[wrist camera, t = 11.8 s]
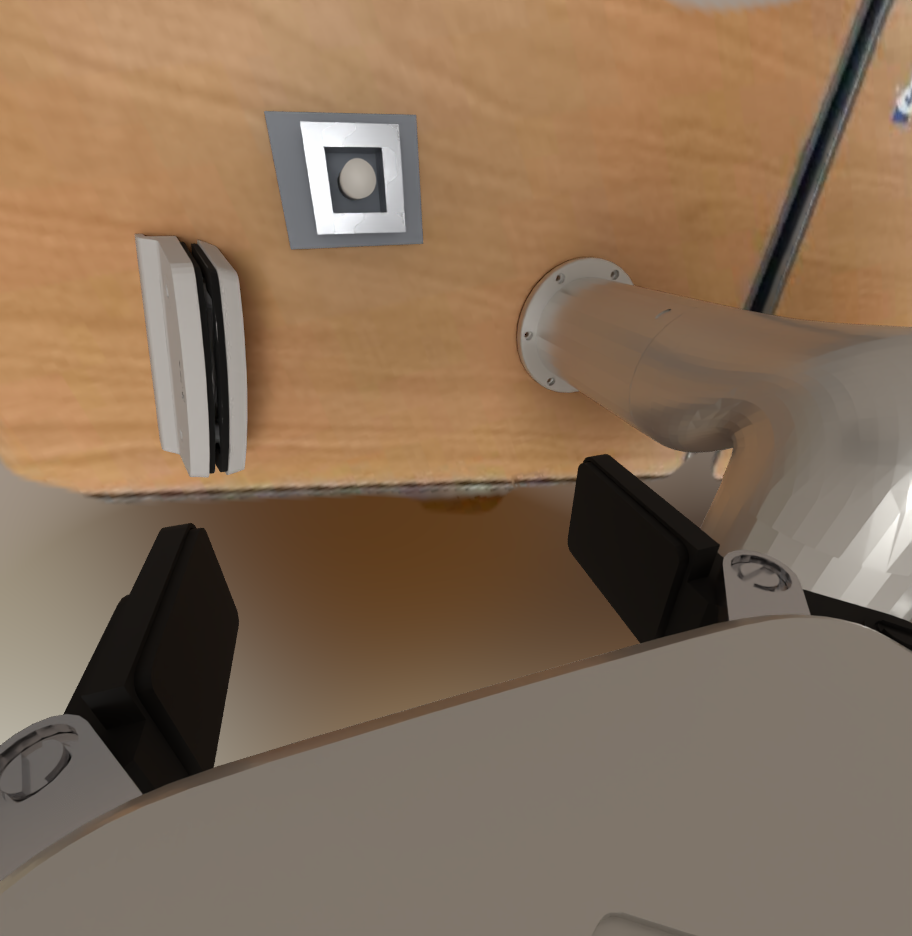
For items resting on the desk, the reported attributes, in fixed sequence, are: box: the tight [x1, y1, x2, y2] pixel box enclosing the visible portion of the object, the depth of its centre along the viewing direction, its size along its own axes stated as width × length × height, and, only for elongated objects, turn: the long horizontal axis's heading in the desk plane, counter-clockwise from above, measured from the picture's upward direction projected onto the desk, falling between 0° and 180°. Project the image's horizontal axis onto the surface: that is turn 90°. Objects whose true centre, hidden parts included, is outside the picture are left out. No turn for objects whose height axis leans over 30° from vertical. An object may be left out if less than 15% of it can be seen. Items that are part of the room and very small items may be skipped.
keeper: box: [264, 111, 423, 249], centre depth 29 cm, size 10×8×7 cm
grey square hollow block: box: [300, 121, 406, 234], centre depth 30 cm, size 6×6×4 cm
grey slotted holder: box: [135, 234, 247, 477], centre depth 32 cm, size 17×5×10 cm, turn 168°
